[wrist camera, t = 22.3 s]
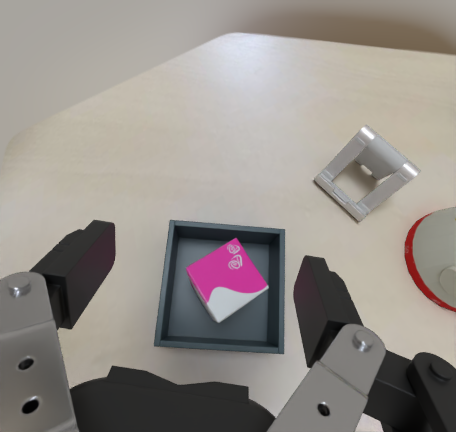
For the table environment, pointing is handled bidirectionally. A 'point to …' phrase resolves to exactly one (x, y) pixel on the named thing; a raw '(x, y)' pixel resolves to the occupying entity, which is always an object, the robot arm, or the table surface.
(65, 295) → the robot arm
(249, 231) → the bin
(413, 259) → the kitchen timer
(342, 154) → the tablet stand
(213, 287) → the supplement box
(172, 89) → the table surface
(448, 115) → the table surface
